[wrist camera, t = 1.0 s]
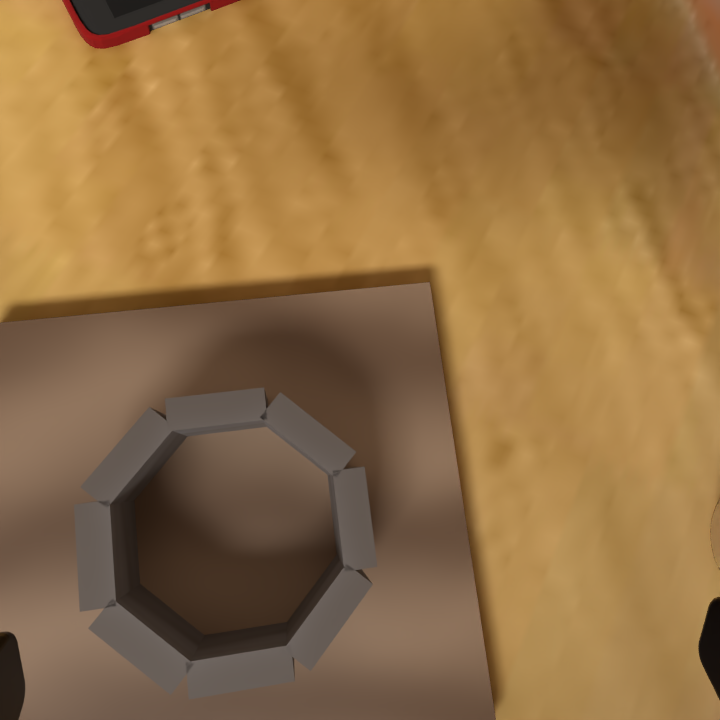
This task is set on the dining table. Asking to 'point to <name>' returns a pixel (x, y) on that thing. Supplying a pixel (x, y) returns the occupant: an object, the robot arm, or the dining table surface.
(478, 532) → the dining table surface
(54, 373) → the roll holder stand
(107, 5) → the cell phone
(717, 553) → the paper roll
